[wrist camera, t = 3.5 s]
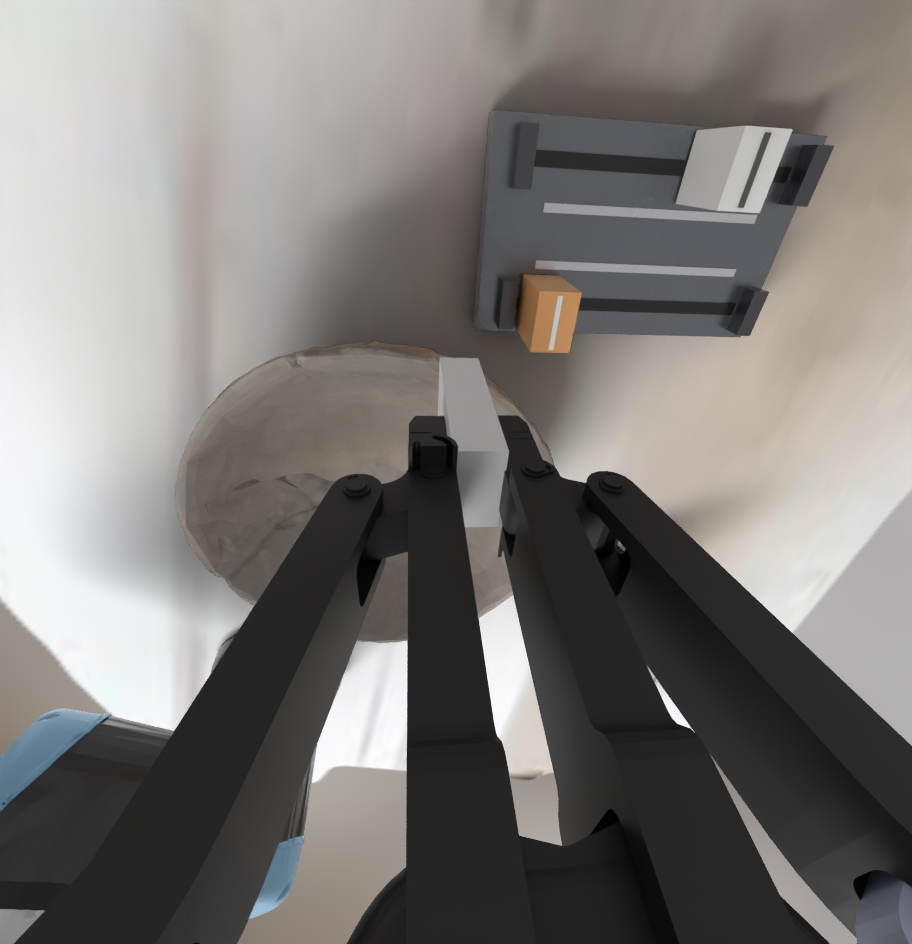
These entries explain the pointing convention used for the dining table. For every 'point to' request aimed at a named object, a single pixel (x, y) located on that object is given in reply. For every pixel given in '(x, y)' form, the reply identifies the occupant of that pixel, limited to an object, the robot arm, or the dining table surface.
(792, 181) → the panel
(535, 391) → the dining table surface
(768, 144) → the white fader
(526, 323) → the orange fader
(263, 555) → the bowl
